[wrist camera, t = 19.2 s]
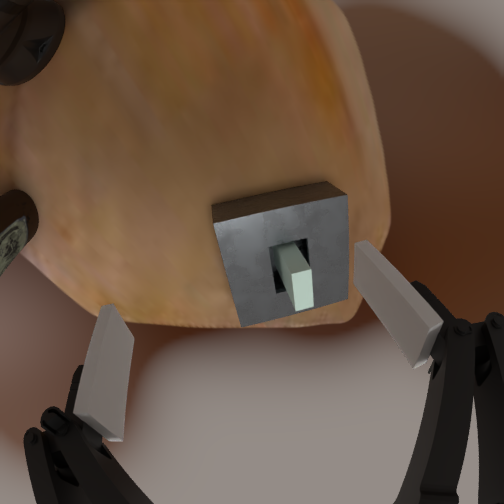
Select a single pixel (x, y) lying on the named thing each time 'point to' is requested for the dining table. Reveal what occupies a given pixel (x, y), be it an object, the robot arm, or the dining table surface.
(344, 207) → the grey slotted box
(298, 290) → the pale green flat block
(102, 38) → the dining table surface
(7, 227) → the olive oil
